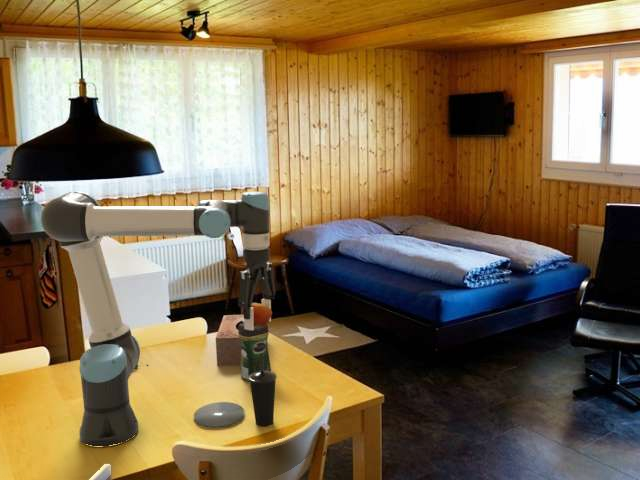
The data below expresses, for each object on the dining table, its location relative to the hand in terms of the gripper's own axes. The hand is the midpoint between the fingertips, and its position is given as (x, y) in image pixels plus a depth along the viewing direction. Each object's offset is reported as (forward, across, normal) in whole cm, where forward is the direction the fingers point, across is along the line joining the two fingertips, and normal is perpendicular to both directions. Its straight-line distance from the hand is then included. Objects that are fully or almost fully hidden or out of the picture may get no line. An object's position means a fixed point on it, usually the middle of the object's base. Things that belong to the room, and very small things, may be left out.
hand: (257, 325), depth 192 cm
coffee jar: (+25, +18, +14) cm, 33 cm away
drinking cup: (+25, -9, -8) cm, 27 cm away
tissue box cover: (+25, +34, +31) cm, 53 cm away
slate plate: (+25, -11, +6) cm, 28 cm away
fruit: (+1, 0, 0) cm, 1 cm away
